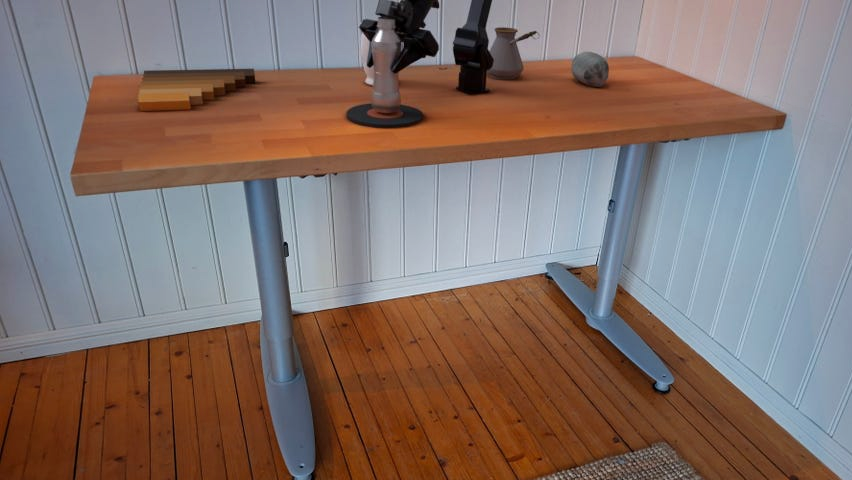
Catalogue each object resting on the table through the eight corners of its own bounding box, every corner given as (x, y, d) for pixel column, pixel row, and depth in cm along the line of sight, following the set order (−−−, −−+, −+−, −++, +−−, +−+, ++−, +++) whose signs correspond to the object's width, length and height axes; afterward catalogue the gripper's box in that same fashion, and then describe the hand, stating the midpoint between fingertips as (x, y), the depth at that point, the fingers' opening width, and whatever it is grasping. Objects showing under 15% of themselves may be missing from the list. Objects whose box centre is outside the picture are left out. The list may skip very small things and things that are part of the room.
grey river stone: (620, 77, 186) (606, 43, 183) (589, 93, 186) (575, 59, 183) (603, 78, 199) (590, 46, 196) (575, 93, 199) (561, 61, 196)
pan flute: (254, 80, 173) (146, 83, 165) (253, 67, 171) (144, 68, 163) (262, 107, 153) (140, 111, 144) (261, 92, 151) (137, 96, 143)
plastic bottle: (381, 106, 156) (381, 14, 146) (406, 112, 153) (408, 18, 144) (365, 112, 150) (364, 17, 141) (390, 118, 148) (391, 21, 138)
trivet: (398, 103, 163) (398, 99, 162) (437, 122, 151) (437, 118, 150) (333, 111, 153) (333, 107, 153) (369, 132, 142) (369, 127, 141)
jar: (394, 90, 173) (394, 28, 166) (355, 85, 175) (353, 24, 167) (406, 80, 182) (406, 22, 175) (369, 76, 184) (368, 18, 177)
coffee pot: (475, 72, 195) (478, 18, 188) (509, 70, 200) (514, 17, 193) (512, 91, 179) (517, 32, 172) (549, 88, 184) (555, 30, 177)
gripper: (363, -21, 146) (328, 38, 143) (432, -11, 137) (396, 52, 135) (388, 14, 156) (356, 70, 153) (453, 26, 147) (420, 86, 144)
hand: (380, 69), depth 146 cm, fingers open, 7 cm apart
